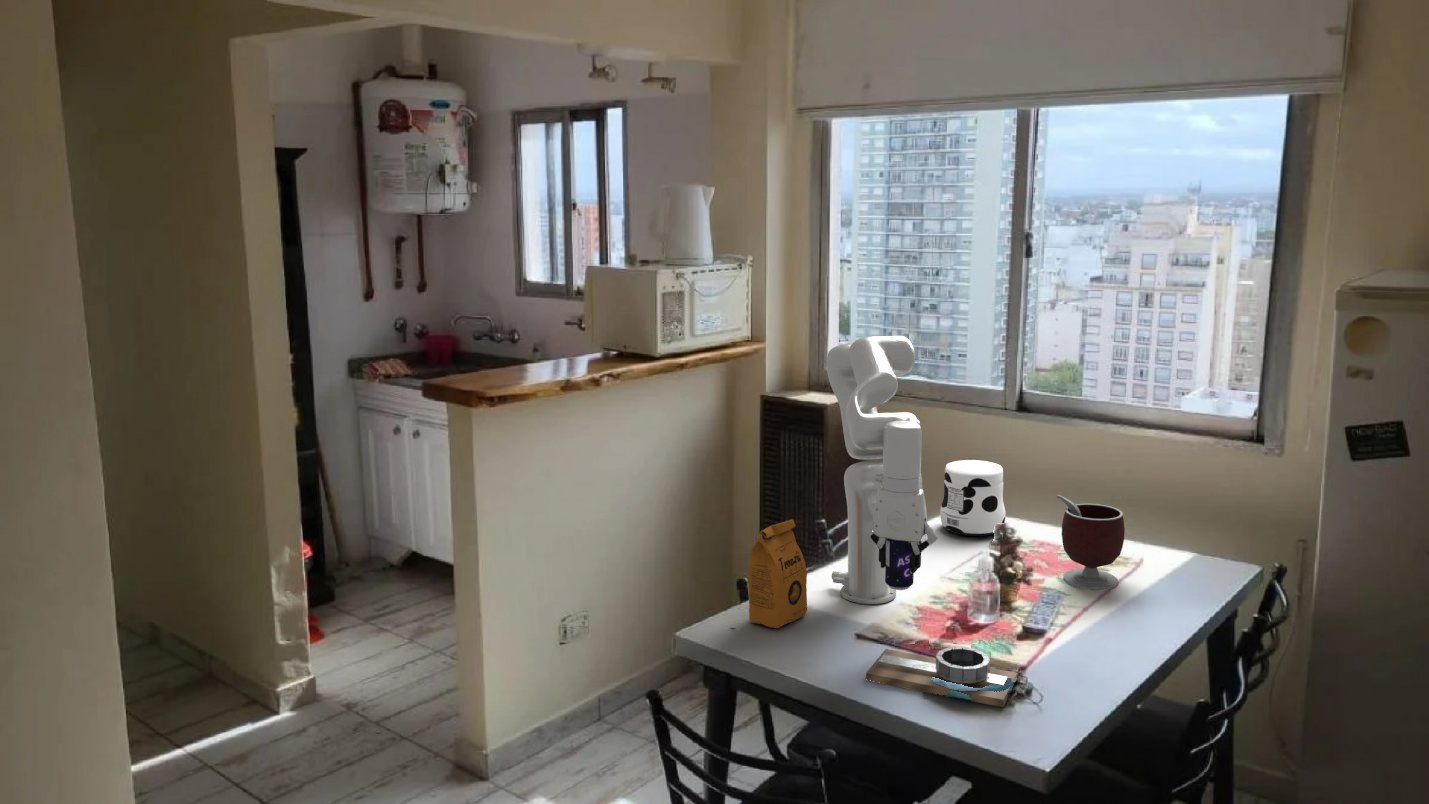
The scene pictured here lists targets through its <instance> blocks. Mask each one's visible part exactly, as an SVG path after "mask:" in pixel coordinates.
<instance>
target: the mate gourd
mask: <svg viewBox="0 0 1429 804" xmlns="http://www.w3.org/2000/svg"><path fill="white" fill-rule="evenodd" d="M1056 498H1057V499H1059V500H1061V501H1062V502H1063V503H1064V504H1065V505H1066V507H1065V509H1064V511H1065V512H1064V514H1063V518H1062V523H1061V541H1062V546H1063V547H1062V548H1063V550H1064V551H1065V553H1066V555H1067V556H1068V557H1069V559H1070V560H1071V561H1073V562H1074V563H1076V564H1079V565H1082V566H1084V568H1081V569H1080V568H1079V569H1071V570H1068V571H1066V572H1064V574H1063V576H1062V577H1063V581H1064V582H1065V584H1067V583H1068V584H1067V585H1069V586H1072V587H1074V588H1079V589H1082V590H1088V589H1090V591H1107V590H1112V589H1114V588H1116V587H1118V585H1119V579H1118V577H1117V576H1115V575H1113V574H1111V573H1108V572H1106V571H1102V570H1098V568H1101V567H1105V566H1109V565H1112V564H1113V563H1114V562H1115V561H1116V560H1117V558H1119V557H1120V555H1121V553H1122V551H1123V548H1124V547H1123V546H1124V542H1125V532H1126V530H1125V529H1126V528H1125V519H1124V513H1123V511H1122V510H1121V509H1119V508H1116V507H1113V506H1110V505H1105V504H1099V503H1078V504H1077V503H1074V502H1073V501H1071V500H1070V499H1068V498H1066V497H1065V496H1063V495H1061V494H1057V495H1056ZM1104 589H1105V590H1104ZM1106 589H1107V590H1106Z"/></svg>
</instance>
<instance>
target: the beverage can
mask: <svg viewBox="0 0 1429 804" xmlns="http://www.w3.org/2000/svg"><path fill="white" fill-rule="evenodd" d="M912 553H913V548H912V545H911V542H906V541H902V540H897V539H886V564H885V582H886V584H887V585H889V587H890V588H892V589H895V590H896V591H905V590H908V589H909V588H911V586H912V585H914V574H915V573H912V572H911V554H912Z"/></svg>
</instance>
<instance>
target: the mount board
mask: <svg viewBox="0 0 1429 804" xmlns="http://www.w3.org/2000/svg"><path fill="white" fill-rule="evenodd" d="M884 654H885V655H890V656H896V657H901V658H906V659H912V660H917V661H923V662H928V663H934V664H936V657H934V656H933V657H931V656H926V655H921V654H916V653H911V652H906V651H905V652H904V651H899V650H894V649H889V648H885V649H884V650H883V651H882V653H881V654H880V655H879V657H877V659H876V660H875V661H874V663H873V664H872V665H871V666H870V667H869V668H868V670H867V671H866V673H865V680H866V679H867V680H871V681H874V682H873V683H877V682H880V683H879V684H882V683H884V684H883V685H887V686H893V687H897V688H898V687H899V688H903V689H908V690H912V691H913V690H914V691H916V692H917V691H919V692H921V693H922V692H924V693H928V694H932V693H933V695H937V694H939V695H938V696H943V695H947V694H949V693H948V691H951V690H952V689H949V688H946V687H944V686H941V685H938V684H936V683H934V682H933V680H931V679H930V678H932V677H935V678H939V679H941V680H944V679H942V678H941V677H938V676H933V675H927V674H922V673H917V672H911V671H906V670H901V669H896V668H890V667H885V666H880V665H878V661H879V660H880V658H881V657H882V656H883V655H884ZM989 674H993V675H999V676H1004V677H1007V678H1013V679H1015V678H1016V677H1017V678H1018V672H1015V671H1009V670H1004V669H999V668H993V667H990V672H989ZM871 681H870V682H871ZM944 681H946V680H944ZM946 682H949V681H946ZM962 685H964V686H968V687H973V688H983V687H985V685H980V684H967V685H966V684H962ZM1010 687H1011V686H1010ZM1010 687H1009V688H1008V689H1006V690H1004V691H1003V690H1002V691H1000V692H999V691H997V692H996V691H995V692H994V691H983V690H982V691H981V690H977V691H959V690H954V689H953V690H952V691H957V692H961V693H964V694H967V695H969V697H970V698H972V699H971V701H970V702H973V703H977V704H984V705H988V706H989V705H990V706H994V707H1000V708H1004V707H1005V706H1006V703H1007V701H1008V699H1007V697H1008V693H1009V689H1010ZM934 693H935V694H934ZM1008 698H1009V697H1008Z"/></svg>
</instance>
